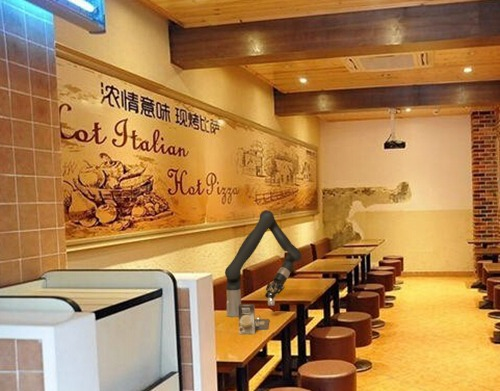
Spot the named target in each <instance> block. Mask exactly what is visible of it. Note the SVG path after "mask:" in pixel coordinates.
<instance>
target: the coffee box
mask: <svg viewBox="0 0 500 391" xmlns="http://www.w3.org/2000/svg"><path fill="white" fill-rule="evenodd" d="M255 305H256V304H254V303H251V304H250V303H249V304H248V303H247V304H246V303H244V304H243V303H241V304H239V306H238V309H239V316H238V334H239V335H255V333H256V330H255V319H256V311H255V310H256V309H255V307H256V306H255Z"/></svg>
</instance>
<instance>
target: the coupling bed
mask: <svg viewBox="0 0 500 391" xmlns="http://www.w3.org/2000/svg"><path fill="white" fill-rule="evenodd" d="M269 326H270V318H262V317H261V316H260V315H257V316H256V318H255V331H256V330H257V331H262V330H263V331H265V330H266V331H267V330H269Z"/></svg>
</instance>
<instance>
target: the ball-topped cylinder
mask: <svg viewBox="0 0 500 391" xmlns="http://www.w3.org/2000/svg"><path fill="white" fill-rule="evenodd" d="M273 292H274V291H272V292H268V298H267V306H272V307H273V306H275V305H276V304H275V303H276V301H275V300H276V299H275V298H276V296H275V297H274V298H273V299H272V298H271V297H270V296H271V295H272V293H273Z"/></svg>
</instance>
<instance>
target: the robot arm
mask: <svg viewBox="0 0 500 391" xmlns="http://www.w3.org/2000/svg"><path fill="white" fill-rule="evenodd" d="M268 230H269V231H270V232H271V234H272V235H273V237H274V239H275V240H276V242H277V243H278V245H279V246H280V248H281V249H282V251H284V252H287V254H286V256H285V259H284V261H283V263H282V265H281V267H280V268H279V269H278V271H277V272H276V274H275V275H274V277H273V281H272V282H268V283H267V285H266V288H265V290H266V292H265V295H264V297H265V298H267V299H268V292H273V293H272V295H271V296H270V297H271V298H272V299H273V298H274V297H275V298H276V295H279V294H280V293H282V291H283V290H284V289H285V283H286V282H287V280H288V278H289V277H290V274H291V272H292V271H293V269H294V263H295V262H299V261H301V259H302V257H303V256H302V253H301V251H300V250H299V248H297V247H296V246H295V245H294V244H293V243H292V241H291V240H290V239H289V237H288V236H287V235H286V234H285V233H284V231H283V230H282V228H281V227H280V226H279V225H278V223H277V221H276V219H275V215H274V213H273V212H272V211H271V210H267V209H266V210H262V211H261V213H260V214H259V220H258V221H257V223H256V225H255V227H254V228H253V230H252V231H250V232H249V233H248V235H247V236H246V237H245V239H244V241H243V242H242V243H241V245H240V247H239V249H238V251H237V252H236V254H235V256H234V258H233V259H232V260H231V262H230V264H229V265H228V266H227V267H226V268H225V271H224V275H225V277H226V286H225V287H226V316H227V317H231V318H236V317H239V309H238V306H239V304H242V293H241V284H242V283H241V281H242V277H241V270H242V268H243V267H244V265H245V263H246V262H247V261H248V260H249V258H250V257H252V255H253V254H254V252H255V251H256V250H257V248H258V246H259V244H260V243H261V241H262V239H263V238H264V235H265V233H267V231H268Z"/></svg>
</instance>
